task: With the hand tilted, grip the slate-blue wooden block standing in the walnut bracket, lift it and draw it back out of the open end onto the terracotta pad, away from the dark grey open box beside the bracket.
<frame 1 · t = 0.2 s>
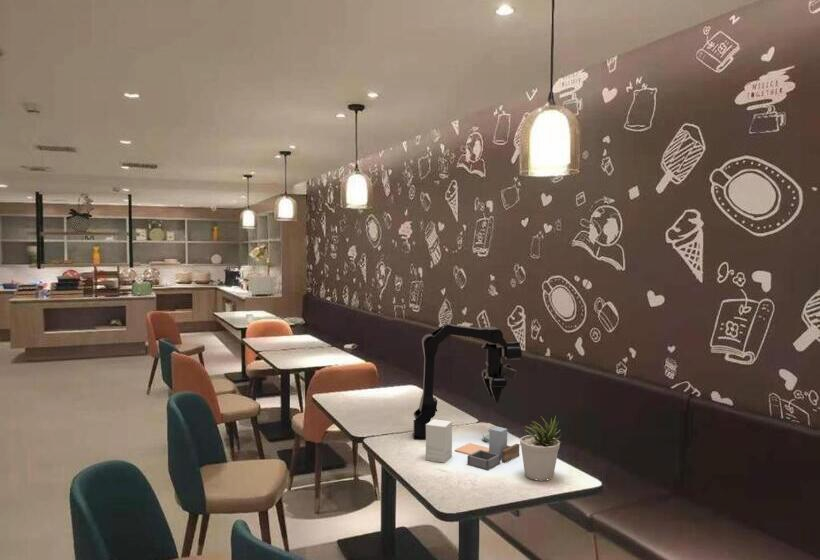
hand: (494, 399, 230), 14 cm above the table, tool pointing down, fingers open, 9 cm apart
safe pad: (473, 450, 213), on the table
slate block: (497, 457, 207), on the table
potted plant: (540, 477, 189), on the table
dark grey open box: (483, 464, 200), on the table
pacifier: (490, 441, 225), on the table
walnut bracket: (497, 456, 207), on the table
supplement box: (438, 459, 205), on the table
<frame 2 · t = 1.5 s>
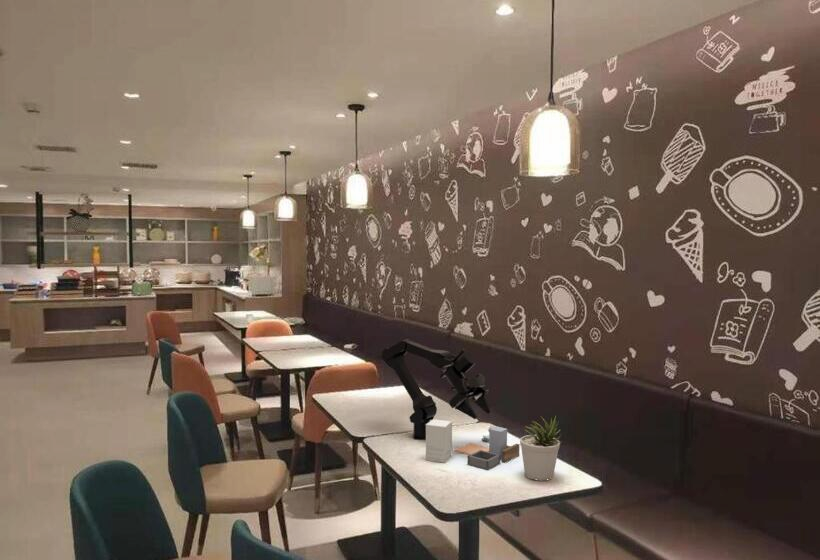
hand: (482, 415, 211), 13 cm above the table, tool tilted 45°, fingers open, 9 cm apart
nothing on the table moved.
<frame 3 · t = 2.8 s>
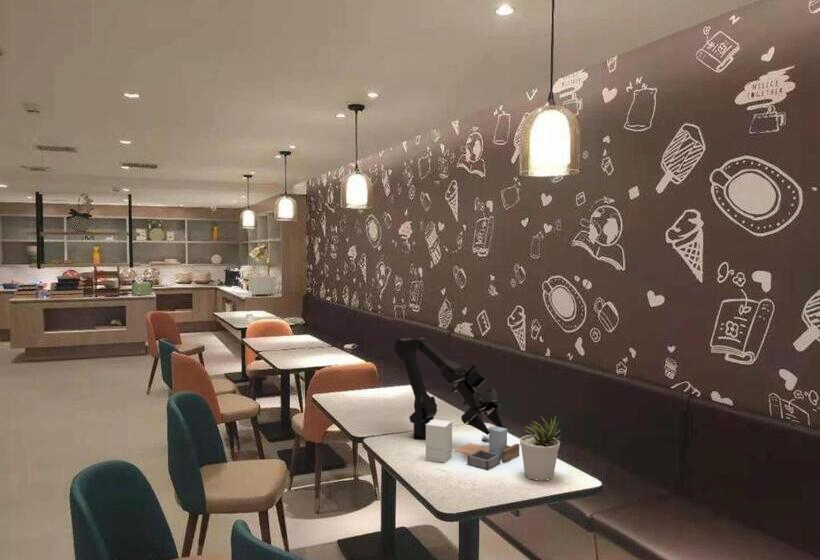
hand: (495, 431, 207), 9 cm above the table, tool tilted 45°, fingers open, 9 cm apart
nothing on the table moved.
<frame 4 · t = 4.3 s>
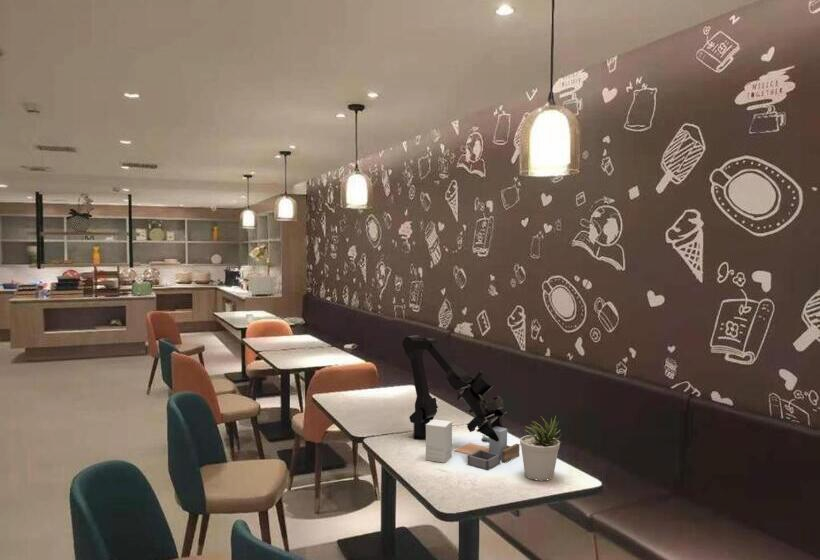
hand: (501, 439, 206), 7 cm above the table, tool tilted 45°, fingers closed on slate block, 4 cm apart
slate block: (497, 456, 207), on the table, touching gripper
everything else where it was.
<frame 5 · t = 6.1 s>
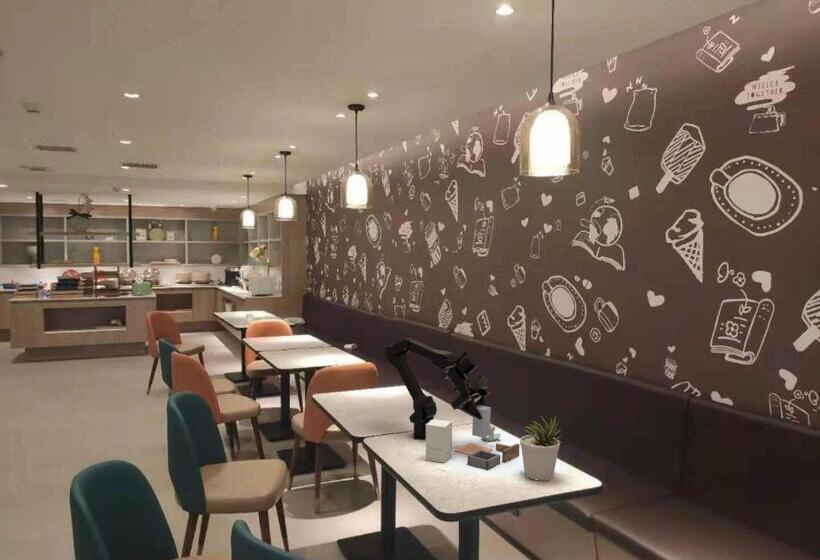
hand: (484, 417, 210), 13 cm above the table, tool tilted 45°, fingers closed on slate block, 4 cm apart
slate block: (480, 434, 211), point 6 cm above the table, touching gripper
when the fingers open (8 cm above the table, at t = 7.9 s): slate block drops 1 cm, resting on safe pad.
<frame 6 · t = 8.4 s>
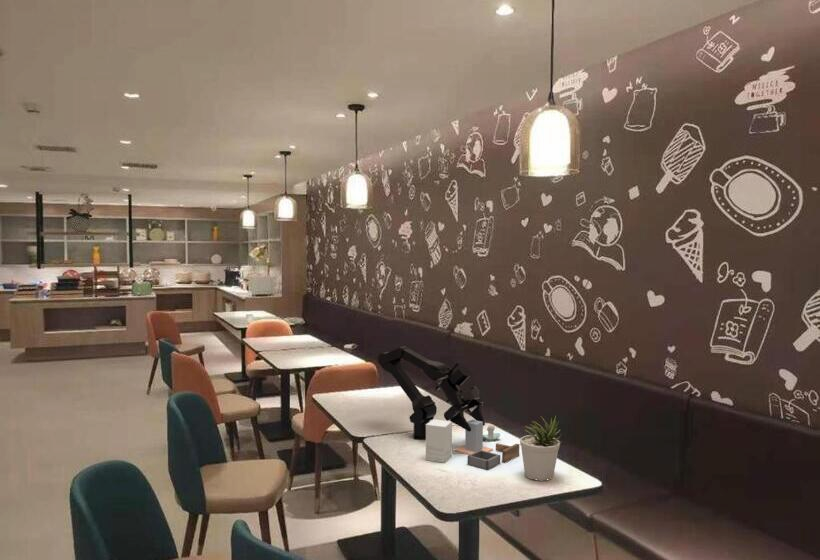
hand: (477, 428, 212), 9 cm above the table, tool tilted 45°, fingers open, 9 cm apart
slate block: (473, 449, 213), resting on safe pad
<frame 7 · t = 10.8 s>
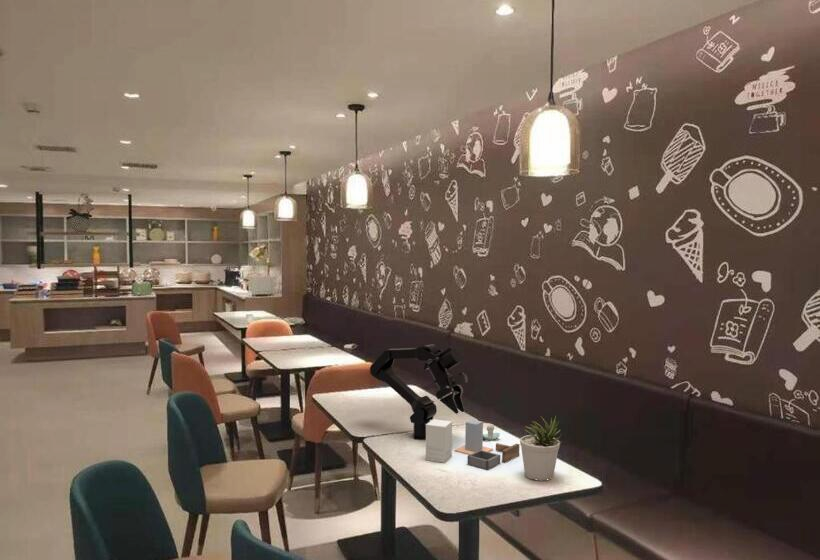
hand: (460, 412, 218), 12 cm above the table, tool tilted 35°, fingers open, 9 cm apart
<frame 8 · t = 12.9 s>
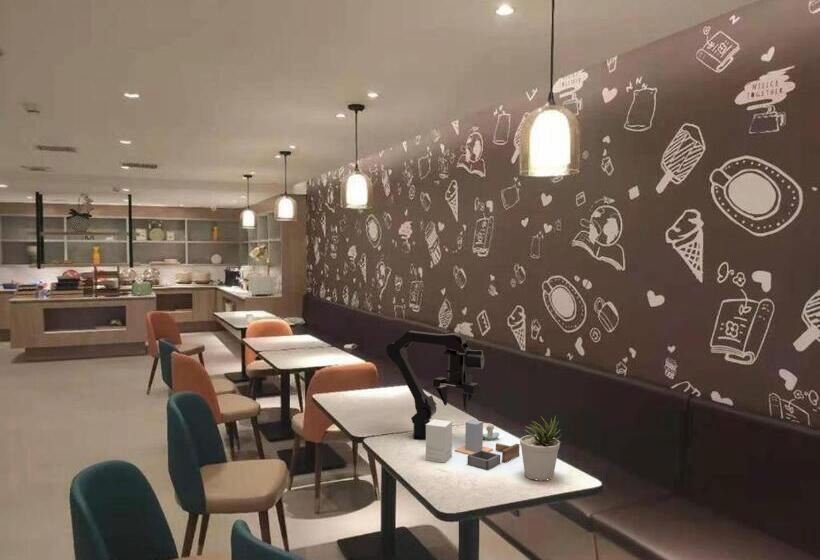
hand: (455, 407, 223), 13 cm above the table, tool pointing down, fingers open, 9 cm apart
at the end: slate block inside the target area on the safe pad (0.0 cm from its centre), point 0.5 cm above the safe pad's base; slate block tilted 0°; the gripper is holding nothing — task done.
